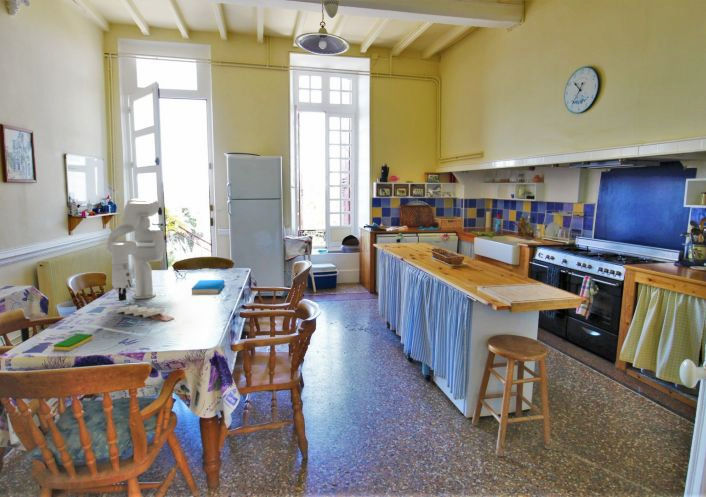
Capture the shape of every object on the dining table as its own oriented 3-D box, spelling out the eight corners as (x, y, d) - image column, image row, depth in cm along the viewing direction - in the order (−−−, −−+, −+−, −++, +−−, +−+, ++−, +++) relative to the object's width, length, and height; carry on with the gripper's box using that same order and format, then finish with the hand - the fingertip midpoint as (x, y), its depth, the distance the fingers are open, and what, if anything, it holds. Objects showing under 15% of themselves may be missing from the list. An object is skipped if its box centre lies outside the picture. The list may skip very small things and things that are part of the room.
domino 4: (142, 314, 212) (156, 310, 208) (150, 312, 217) (164, 308, 213) (143, 317, 212) (157, 313, 208) (151, 314, 217) (165, 311, 213)
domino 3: (133, 313, 214) (147, 310, 210) (141, 310, 219) (154, 307, 215) (134, 316, 214) (147, 313, 210) (142, 313, 219) (155, 310, 215)
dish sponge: (53, 350, 172) (53, 345, 171) (78, 338, 185) (77, 333, 185) (69, 351, 171) (69, 345, 171) (93, 339, 185) (92, 334, 184)
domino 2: (124, 311, 216) (137, 308, 213) (132, 309, 221) (145, 306, 217) (125, 314, 216) (138, 311, 213) (133, 311, 221) (146, 309, 217)
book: (191, 288, 263) (199, 279, 287) (191, 295, 264) (199, 285, 288) (219, 288, 266) (224, 279, 290) (219, 294, 266) (224, 285, 291)
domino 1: (116, 310, 218) (129, 307, 215) (124, 307, 223) (137, 304, 219) (116, 313, 218) (130, 310, 215) (124, 310, 223) (138, 307, 219)
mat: (106, 315, 217) (105, 313, 217) (124, 309, 227) (124, 308, 227) (149, 323, 207) (149, 321, 207) (166, 316, 217) (166, 315, 217)
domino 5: (151, 315, 210) (166, 320, 206) (158, 312, 214) (173, 317, 211) (151, 318, 210) (166, 323, 207) (158, 315, 215) (173, 320, 211)
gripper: (137, 266, 217) (139, 300, 220) (116, 264, 223) (118, 297, 225) (124, 268, 210) (126, 303, 213) (103, 266, 216) (106, 300, 218)
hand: (122, 300), depth 219 cm, fingers closed
